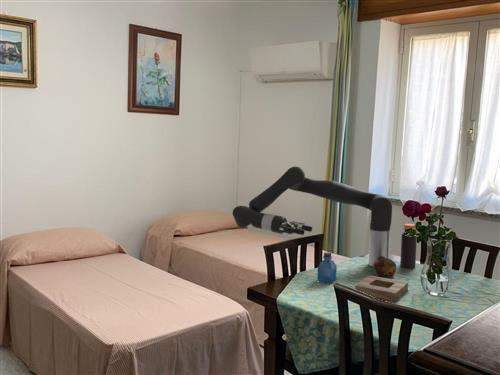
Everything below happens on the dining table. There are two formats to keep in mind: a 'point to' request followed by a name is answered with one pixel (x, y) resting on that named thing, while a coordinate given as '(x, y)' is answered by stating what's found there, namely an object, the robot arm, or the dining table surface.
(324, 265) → the perfume bottle
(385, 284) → the walnut hole block
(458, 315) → the dining table surface
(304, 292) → the dining table surface
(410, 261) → the vinegar
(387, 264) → the decorative turtle
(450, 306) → the dining table surface
